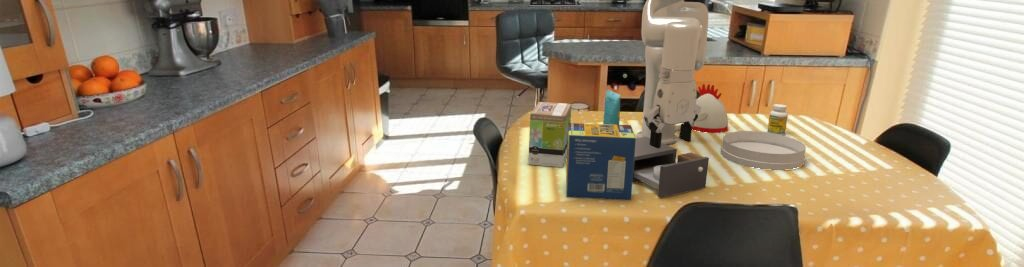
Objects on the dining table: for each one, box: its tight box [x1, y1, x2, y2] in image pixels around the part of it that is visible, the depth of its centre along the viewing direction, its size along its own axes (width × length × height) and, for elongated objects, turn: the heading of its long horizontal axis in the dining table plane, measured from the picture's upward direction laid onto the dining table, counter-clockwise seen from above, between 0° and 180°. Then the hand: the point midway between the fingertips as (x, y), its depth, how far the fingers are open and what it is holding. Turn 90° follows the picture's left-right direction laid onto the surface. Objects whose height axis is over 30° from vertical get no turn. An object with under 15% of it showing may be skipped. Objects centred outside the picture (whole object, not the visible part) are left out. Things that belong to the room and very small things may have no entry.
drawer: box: [633, 156, 710, 199], centre depth 136 cm, size 12×15×8 cm
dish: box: [720, 130, 807, 171], centre depth 158 cm, size 22×22×5 cm
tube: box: [602, 89, 622, 125], centre depth 154 cm, size 7×5×19 cm, turn 26°
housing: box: [632, 137, 678, 184], centre depth 146 cm, size 12×15×7 cm
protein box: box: [565, 122, 637, 201], centre depth 132 cm, size 10×15×16 cm
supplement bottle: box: [766, 103, 789, 136], centre depth 181 cm, size 5×5×10 cm
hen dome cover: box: [692, 83, 729, 134], centre depth 187 cm, size 14×14×15 cm
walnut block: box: [676, 152, 704, 163], centre depth 144 cm, size 5×5×5 cm
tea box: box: [527, 101, 572, 168], centre depth 155 cm, size 15×10×15 cm, turn 168°
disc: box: [653, 165, 663, 180], centre depth 137 cm, size 7×7×2 cm
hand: (670, 143), depth 135 cm, fingers open, 9 cm apart
